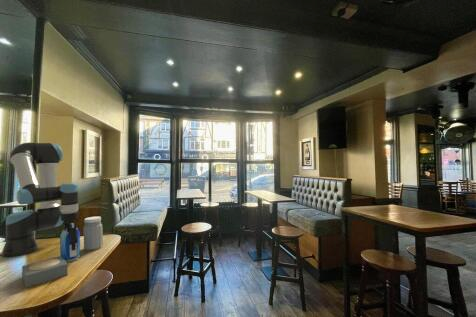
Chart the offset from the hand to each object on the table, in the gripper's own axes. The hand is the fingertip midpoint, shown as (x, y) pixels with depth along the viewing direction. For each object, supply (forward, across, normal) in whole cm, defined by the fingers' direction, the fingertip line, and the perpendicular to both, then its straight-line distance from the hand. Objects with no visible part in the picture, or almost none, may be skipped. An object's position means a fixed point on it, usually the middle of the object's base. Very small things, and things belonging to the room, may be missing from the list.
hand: (70, 253), depth 121 cm
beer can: (+3, 0, 0) cm, 3 cm away
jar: (+3, -9, +13) cm, 16 cm away
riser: (+3, +13, -12) cm, 18 cm away
